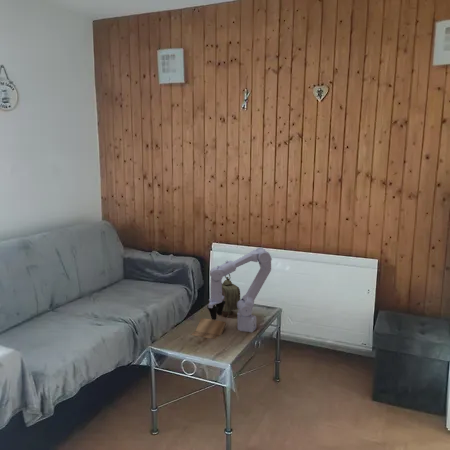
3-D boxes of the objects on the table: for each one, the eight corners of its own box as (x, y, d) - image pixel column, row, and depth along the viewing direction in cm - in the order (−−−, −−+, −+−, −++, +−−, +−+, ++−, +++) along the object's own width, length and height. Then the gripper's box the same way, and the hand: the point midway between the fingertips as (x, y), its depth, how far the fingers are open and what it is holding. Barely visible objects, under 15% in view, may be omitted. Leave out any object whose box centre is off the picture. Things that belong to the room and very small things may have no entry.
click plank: (226, 323, 223) (225, 321, 222) (220, 336, 218) (220, 335, 217) (201, 319, 229) (201, 317, 228) (196, 332, 223) (195, 330, 223)
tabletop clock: (216, 311, 253) (215, 270, 249) (230, 309, 257) (229, 268, 253) (226, 320, 240) (226, 276, 236) (241, 317, 244) (241, 274, 240)
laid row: (220, 337, 217) (220, 335, 217) (215, 341, 212) (215, 339, 212) (195, 333, 223) (195, 331, 222) (190, 336, 218) (190, 334, 218)
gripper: (215, 286, 227) (215, 311, 230) (202, 294, 214) (203, 320, 217) (227, 288, 225) (227, 313, 227) (215, 296, 212) (216, 323, 214)
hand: (216, 317), depth 221 cm, fingers open, 6 cm apart
